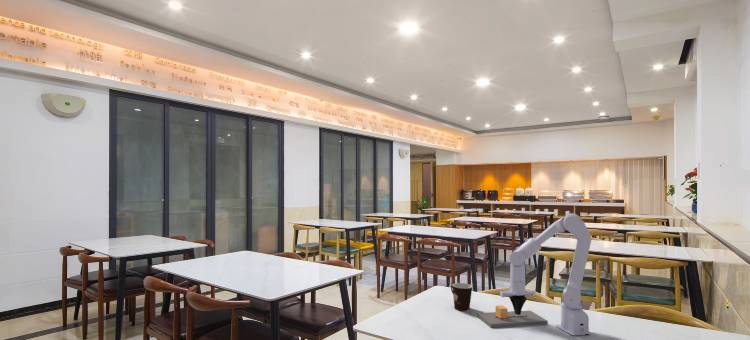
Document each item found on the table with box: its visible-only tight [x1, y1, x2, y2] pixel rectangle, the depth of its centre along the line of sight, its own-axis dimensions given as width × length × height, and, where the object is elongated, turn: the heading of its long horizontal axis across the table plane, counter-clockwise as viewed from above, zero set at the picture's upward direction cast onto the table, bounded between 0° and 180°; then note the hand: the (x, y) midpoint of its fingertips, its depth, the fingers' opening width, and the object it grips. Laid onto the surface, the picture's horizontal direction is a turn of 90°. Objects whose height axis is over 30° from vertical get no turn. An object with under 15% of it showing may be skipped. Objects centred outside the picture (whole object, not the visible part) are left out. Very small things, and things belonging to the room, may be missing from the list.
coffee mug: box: [450, 282, 473, 312], centre depth 172 cm, size 12×9×10 cm
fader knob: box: [495, 304, 508, 319], centre depth 156 cm, size 4×3×4 cm
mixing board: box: [476, 310, 549, 329], centre depth 157 cm, size 12×24×2 cm, turn 100°
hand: (517, 314), depth 157 cm, fingers closed
